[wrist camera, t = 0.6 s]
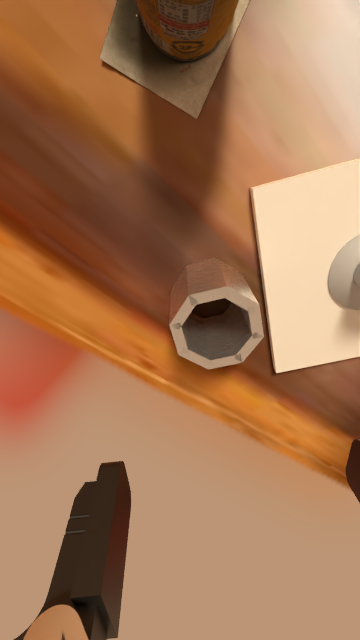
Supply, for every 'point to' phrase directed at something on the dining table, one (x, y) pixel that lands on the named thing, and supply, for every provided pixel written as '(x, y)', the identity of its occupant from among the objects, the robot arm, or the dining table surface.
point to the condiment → (173, 45)
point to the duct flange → (311, 264)
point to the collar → (216, 331)
